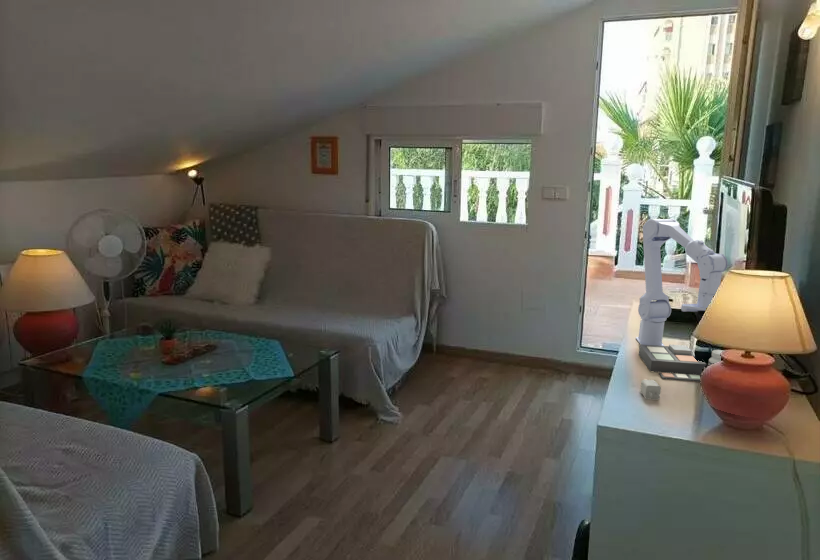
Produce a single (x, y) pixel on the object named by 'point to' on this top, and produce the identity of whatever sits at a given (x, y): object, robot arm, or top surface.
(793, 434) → the top surface
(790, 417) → the top surface
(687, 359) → the terracotta key
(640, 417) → the top surface
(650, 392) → the usb wall charger
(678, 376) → the strip
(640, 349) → the keyguard pad
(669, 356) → the sage key
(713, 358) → the pill bottle
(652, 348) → the ivory key
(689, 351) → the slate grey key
